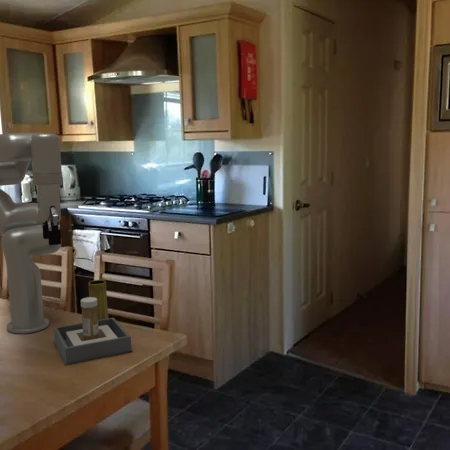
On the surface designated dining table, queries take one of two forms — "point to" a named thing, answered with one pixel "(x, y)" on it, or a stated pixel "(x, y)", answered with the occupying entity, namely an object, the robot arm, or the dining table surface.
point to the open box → (95, 348)
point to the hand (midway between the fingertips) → (52, 241)
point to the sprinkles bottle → (90, 318)
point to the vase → (99, 297)
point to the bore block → (78, 339)
